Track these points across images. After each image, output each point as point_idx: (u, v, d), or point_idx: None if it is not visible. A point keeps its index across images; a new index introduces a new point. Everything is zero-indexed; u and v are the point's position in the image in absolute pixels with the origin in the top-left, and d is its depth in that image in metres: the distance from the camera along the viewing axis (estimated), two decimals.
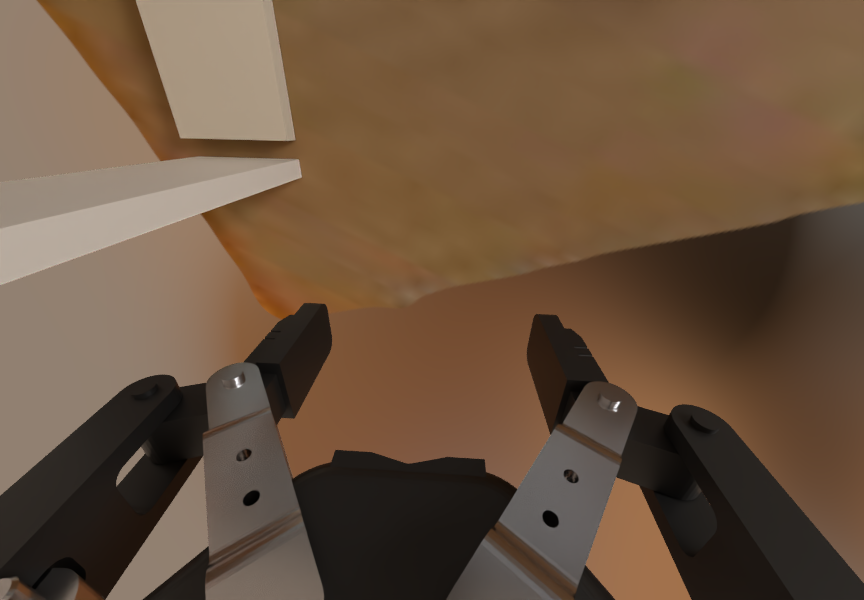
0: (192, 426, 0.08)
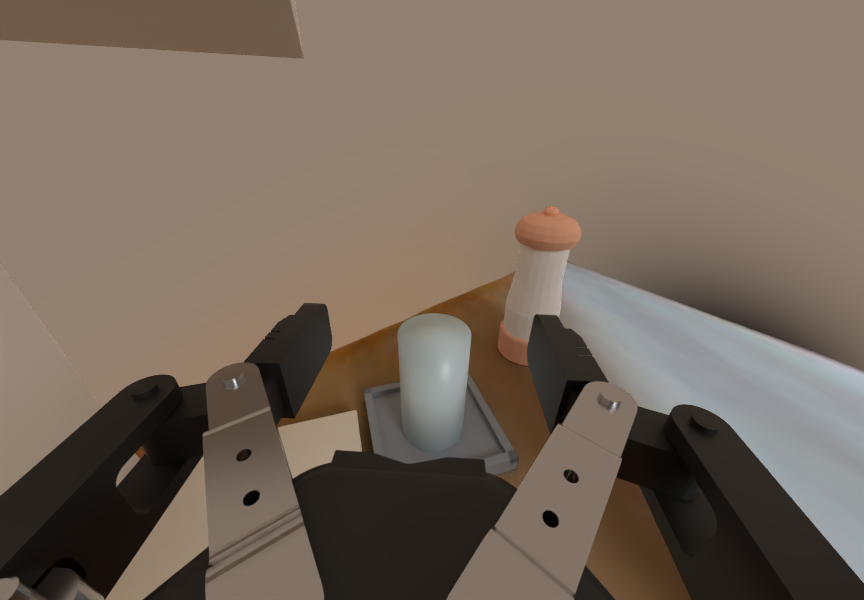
0: (192, 426, 0.08)
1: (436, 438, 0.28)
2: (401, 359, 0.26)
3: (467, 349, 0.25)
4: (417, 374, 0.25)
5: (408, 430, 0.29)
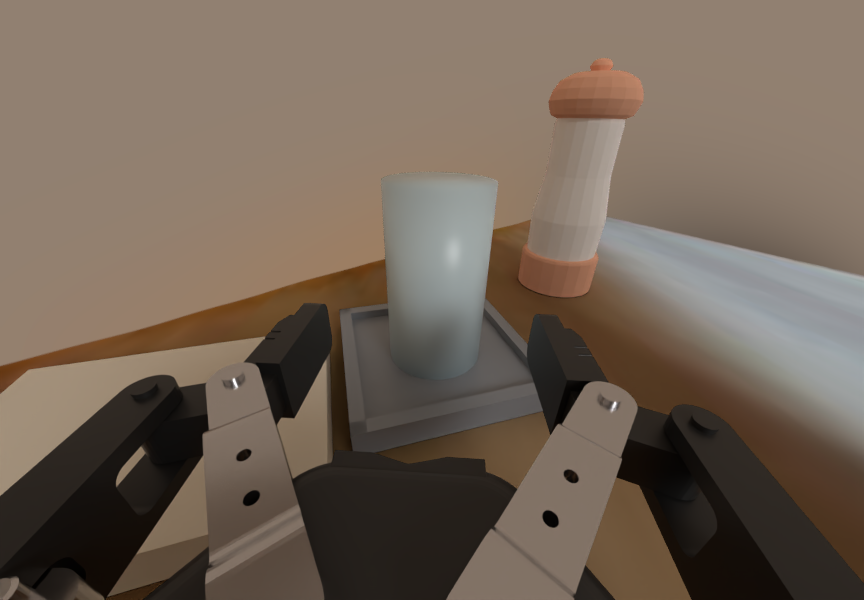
0: (192, 426, 0.08)
1: (440, 356, 0.18)
2: (386, 218, 0.16)
3: (492, 196, 0.15)
4: (411, 234, 0.15)
5: (398, 348, 0.19)
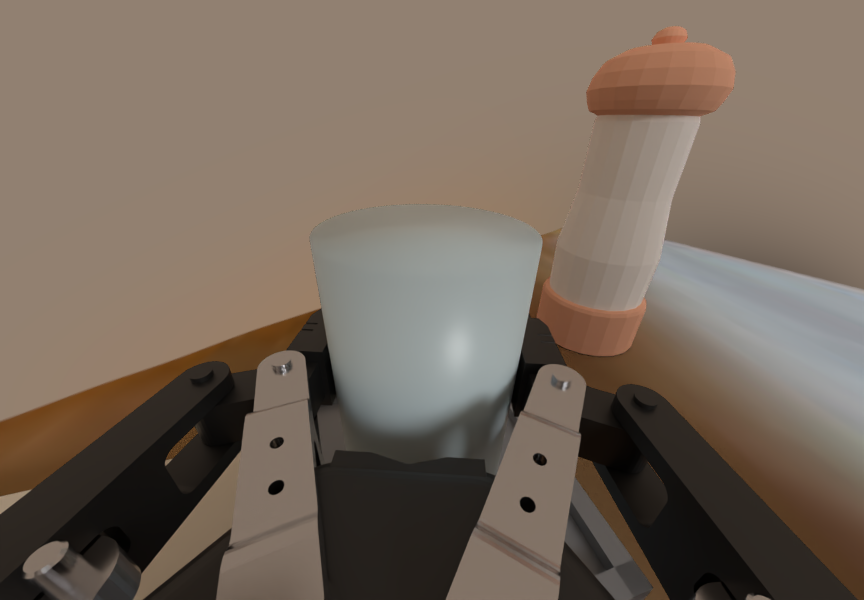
0: None
1: None
2: (322, 306, 0.08)
3: (534, 270, 0.07)
4: (365, 352, 0.07)
5: None
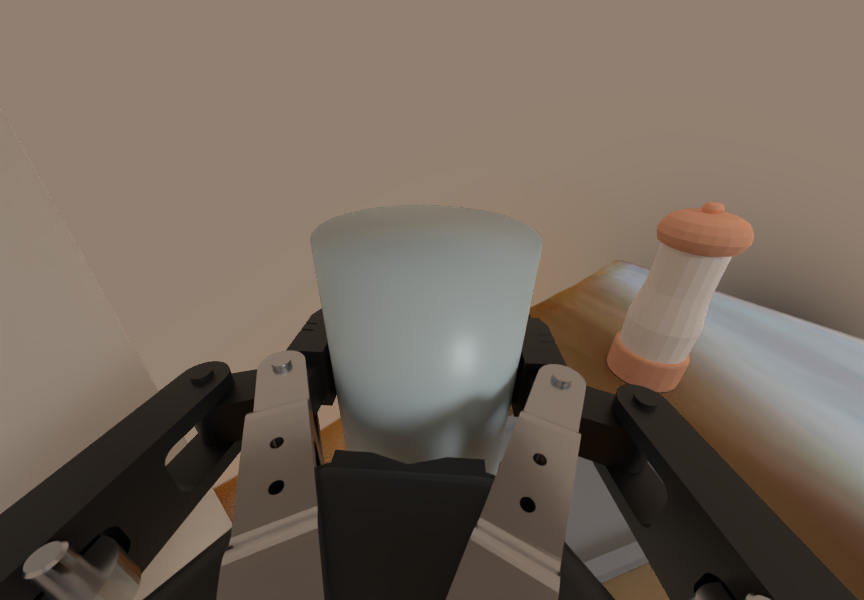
0: None
1: None
2: (323, 307, 0.08)
3: (534, 272, 0.08)
4: (365, 352, 0.07)
5: None
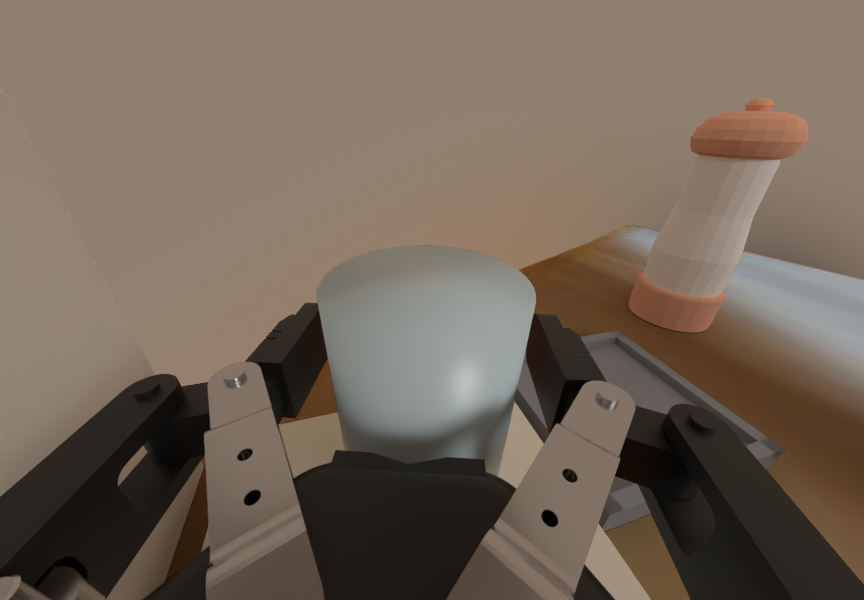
0: (194, 425, 0.08)
1: None
2: (329, 357, 0.09)
3: (528, 328, 0.08)
4: (369, 406, 0.08)
5: None
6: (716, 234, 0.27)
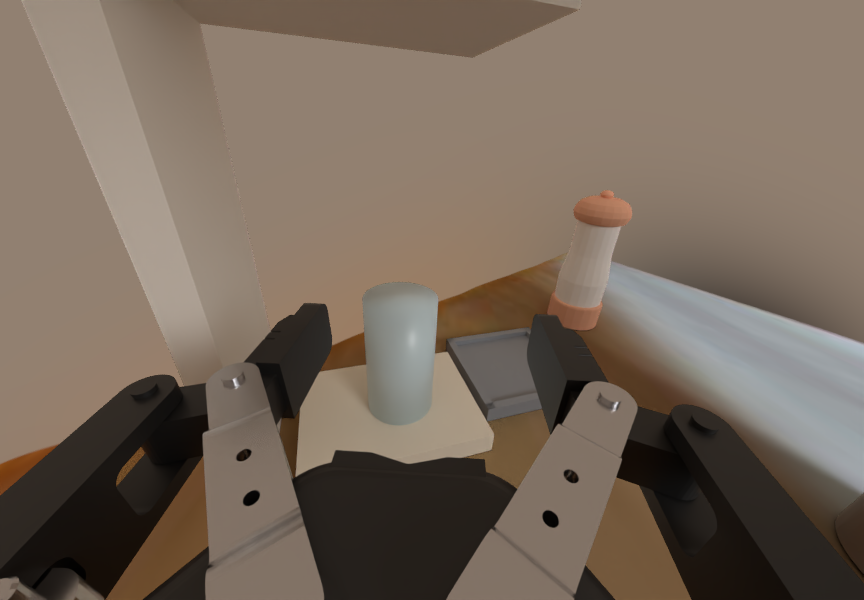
0: (192, 426, 0.08)
1: (401, 410, 0.27)
2: (365, 323, 0.25)
3: (432, 313, 0.24)
4: (380, 337, 0.24)
5: (373, 402, 0.28)
6: (588, 268, 0.43)
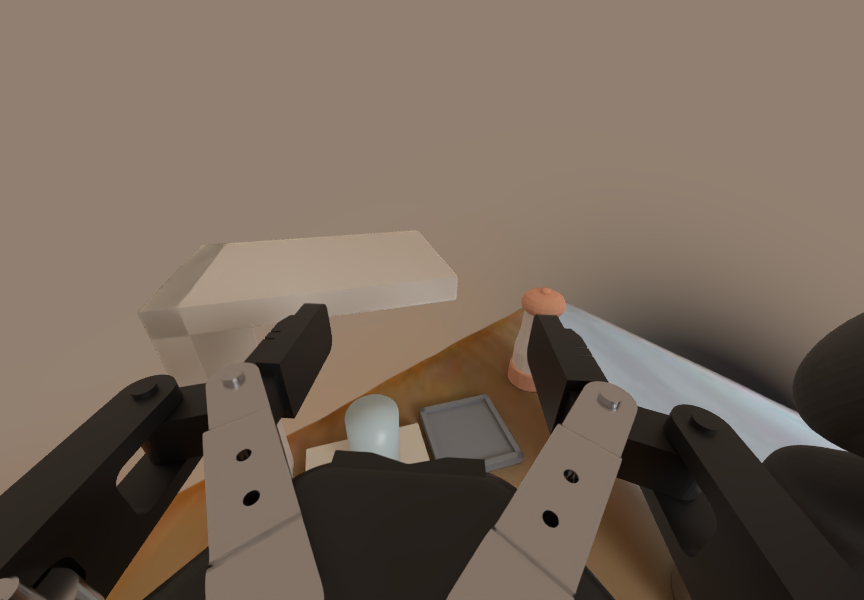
0: (192, 426, 0.08)
1: None
2: (347, 434, 0.36)
3: (393, 428, 0.35)
4: (357, 447, 0.35)
5: None
6: None
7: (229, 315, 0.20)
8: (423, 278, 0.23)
